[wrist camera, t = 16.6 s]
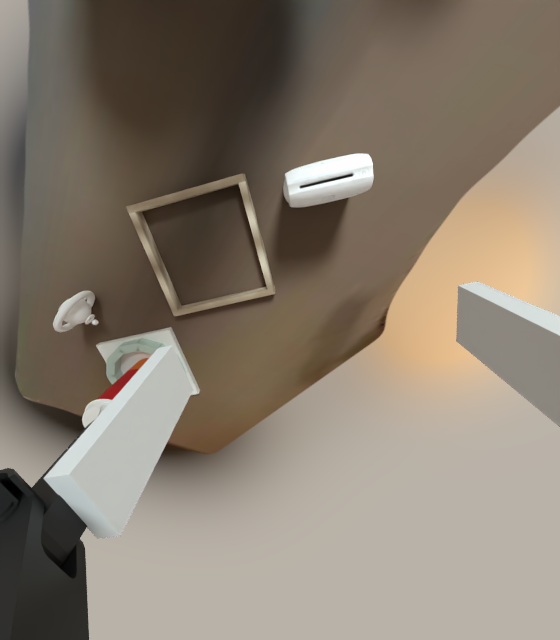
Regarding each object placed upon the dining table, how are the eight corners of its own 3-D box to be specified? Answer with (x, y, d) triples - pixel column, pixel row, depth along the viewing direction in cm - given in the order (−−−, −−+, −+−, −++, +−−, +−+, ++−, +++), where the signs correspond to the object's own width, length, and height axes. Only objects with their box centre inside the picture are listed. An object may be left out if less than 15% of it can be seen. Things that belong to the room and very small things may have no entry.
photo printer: (352, 161, 37) (379, 143, 26) (354, 194, 39) (382, 191, 28) (280, 178, 39) (277, 168, 27) (286, 209, 40) (286, 212, 29)
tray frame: (133, 206, 41) (125, 206, 39) (245, 174, 38) (243, 173, 37) (178, 312, 48) (174, 316, 46) (275, 290, 45) (274, 293, 44)
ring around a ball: (89, 279, 46) (51, 294, 38) (120, 297, 47) (89, 315, 40) (74, 313, 48) (36, 333, 41) (104, 330, 50) (72, 352, 42)
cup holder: (99, 342, 51) (88, 351, 48) (171, 327, 49) (164, 334, 46) (134, 402, 57) (126, 413, 54) (200, 390, 55) (195, 400, 52)
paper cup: (151, 391, 54) (109, 451, 41) (122, 366, 52) (67, 420, 39) (178, 373, 52) (142, 430, 39) (149, 345, 50) (101, 396, 37)
